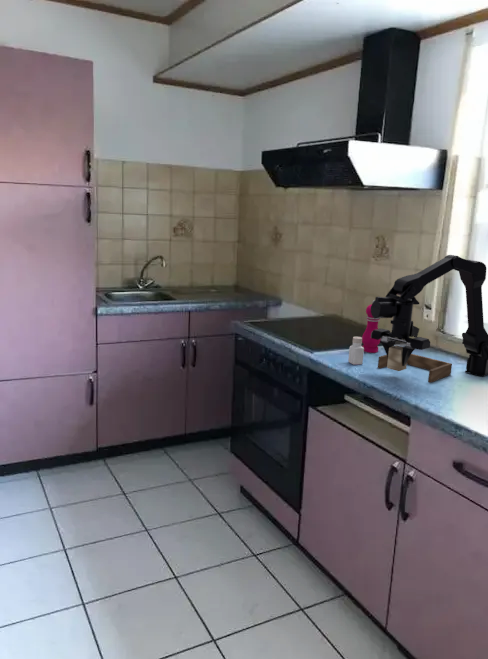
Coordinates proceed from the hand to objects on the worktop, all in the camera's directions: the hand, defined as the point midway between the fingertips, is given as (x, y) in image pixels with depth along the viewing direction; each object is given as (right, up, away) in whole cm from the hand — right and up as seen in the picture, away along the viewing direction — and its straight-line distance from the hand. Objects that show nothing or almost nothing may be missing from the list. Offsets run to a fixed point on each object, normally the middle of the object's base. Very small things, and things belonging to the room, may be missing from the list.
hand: (397, 364), depth 183 cm
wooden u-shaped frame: (+8, -3, +9) cm, 13 cm away
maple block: (0, -1, 0) cm, 2 cm away
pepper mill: (-1, +3, +34) cm, 34 cm away
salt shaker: (-11, -1, +16) cm, 19 cm away
